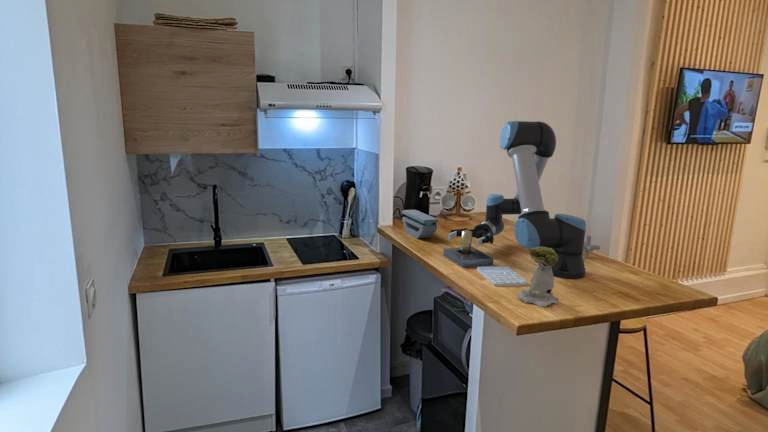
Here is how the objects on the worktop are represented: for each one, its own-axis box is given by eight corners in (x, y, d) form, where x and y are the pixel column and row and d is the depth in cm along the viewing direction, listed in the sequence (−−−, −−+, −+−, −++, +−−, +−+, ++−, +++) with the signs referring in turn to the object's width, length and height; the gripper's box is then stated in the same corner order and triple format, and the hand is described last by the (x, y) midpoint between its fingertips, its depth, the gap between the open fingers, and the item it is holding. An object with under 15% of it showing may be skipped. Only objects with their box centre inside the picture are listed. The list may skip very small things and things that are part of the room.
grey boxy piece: (401, 230, 256) (401, 210, 254) (414, 229, 259) (415, 209, 257) (423, 242, 233) (424, 220, 231) (437, 240, 236) (438, 219, 234)
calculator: (493, 287, 175) (494, 282, 175) (475, 270, 194) (476, 265, 194) (528, 287, 177) (529, 282, 177) (507, 269, 196) (507, 265, 196)
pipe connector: (594, 255, 219) (597, 234, 217) (601, 261, 209) (604, 239, 207) (571, 254, 220) (574, 232, 218) (578, 260, 210) (580, 238, 208)
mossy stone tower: (522, 290, 172) (527, 240, 168) (560, 298, 166) (566, 246, 162) (514, 301, 162) (518, 248, 158) (554, 309, 155) (560, 254, 152)
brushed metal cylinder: (472, 259, 207) (474, 232, 204) (463, 260, 205) (464, 233, 203) (467, 256, 211) (469, 230, 208) (458, 257, 209) (460, 230, 207)
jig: (493, 265, 200) (493, 258, 200) (462, 267, 196) (463, 260, 195) (471, 253, 217) (472, 246, 216) (443, 255, 212) (443, 248, 212)
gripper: (509, 243, 214) (490, 254, 197) (459, 234, 228) (436, 243, 212) (511, 227, 213) (491, 236, 196) (460, 219, 227) (437, 226, 210)
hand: (463, 239), depth 204 cm, fingers open, 13 cm apart
